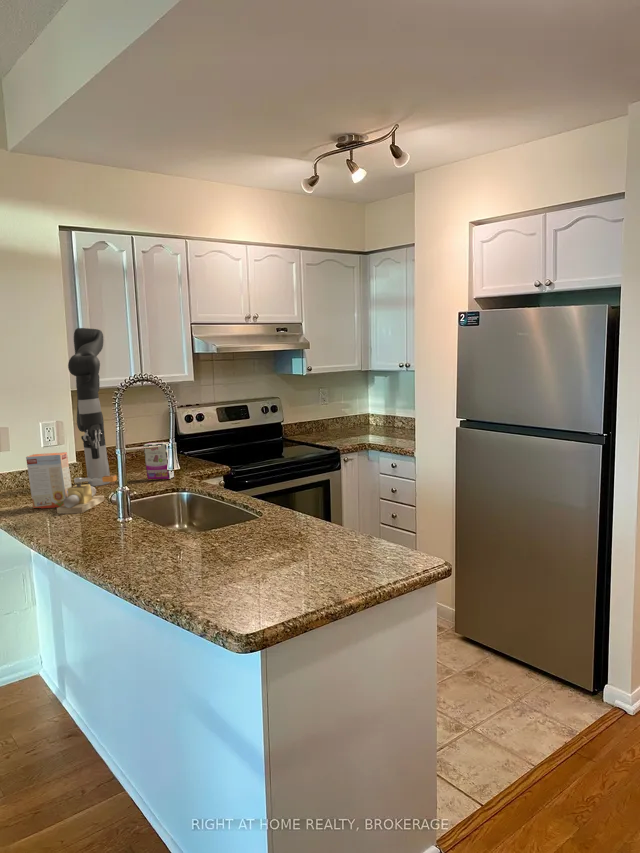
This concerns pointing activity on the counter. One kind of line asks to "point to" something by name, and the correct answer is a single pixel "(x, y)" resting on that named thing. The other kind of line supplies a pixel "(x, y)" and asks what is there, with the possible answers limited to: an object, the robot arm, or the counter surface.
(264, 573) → the counter surface
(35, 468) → the cracker box
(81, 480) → the valve lever
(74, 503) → the valve on pipe
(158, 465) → the candy bar box
